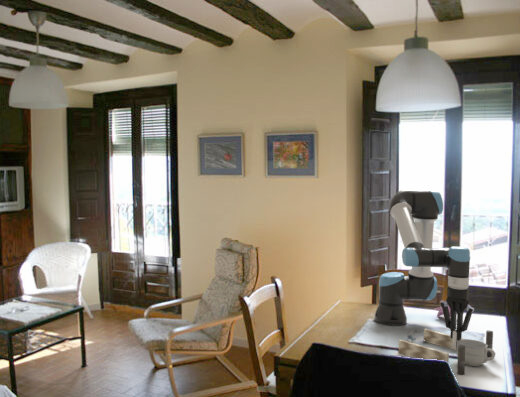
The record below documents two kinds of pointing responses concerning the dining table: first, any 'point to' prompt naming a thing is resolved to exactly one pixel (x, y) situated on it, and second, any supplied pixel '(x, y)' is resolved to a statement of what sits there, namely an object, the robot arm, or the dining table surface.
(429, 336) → the wooden bars
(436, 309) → the lily
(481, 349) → the teacup
